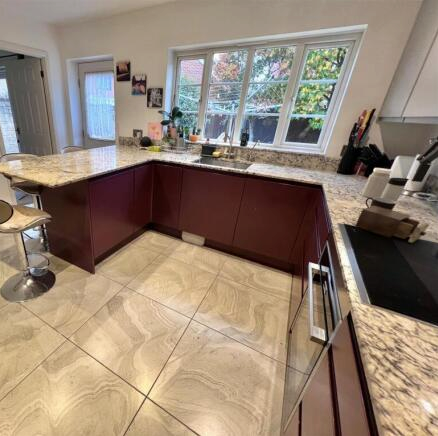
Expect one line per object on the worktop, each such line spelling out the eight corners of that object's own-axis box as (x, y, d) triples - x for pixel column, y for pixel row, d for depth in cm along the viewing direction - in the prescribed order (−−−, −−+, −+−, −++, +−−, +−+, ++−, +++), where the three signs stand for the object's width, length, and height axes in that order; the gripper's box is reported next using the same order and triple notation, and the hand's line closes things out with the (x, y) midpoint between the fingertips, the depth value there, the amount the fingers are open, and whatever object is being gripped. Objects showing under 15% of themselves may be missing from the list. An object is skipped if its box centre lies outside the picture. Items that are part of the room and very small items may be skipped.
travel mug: (392, 218, 119) (412, 180, 110) (376, 216, 121) (395, 178, 112) (385, 213, 124) (404, 177, 116) (370, 211, 126) (388, 175, 118)
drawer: (424, 239, 97) (434, 224, 94) (416, 244, 92) (425, 229, 89) (385, 226, 107) (393, 213, 104) (376, 230, 102) (383, 216, 99)
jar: (382, 200, 145) (396, 171, 137) (362, 197, 150) (374, 169, 142) (378, 196, 152) (391, 169, 145) (359, 193, 157) (371, 166, 150)
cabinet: (400, 232, 103) (410, 215, 100) (390, 238, 98) (400, 220, 95) (366, 221, 113) (374, 205, 110) (355, 226, 108) (362, 209, 104)
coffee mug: (390, 223, 112) (400, 204, 108) (368, 220, 115) (378, 201, 110) (378, 214, 122) (387, 197, 118) (358, 212, 125) (366, 194, 120)
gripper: (422, 120, 85) (394, 177, 93) (494, 122, 63) (449, 196, 71) (447, 120, 83) (417, 178, 92) (531, 123, 61) (480, 198, 70)
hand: (431, 186), depth 82 cm, fingers open, 13 cm apart
